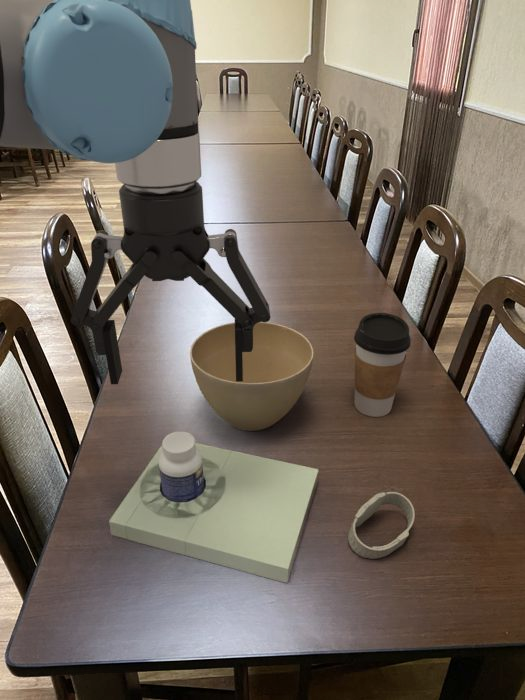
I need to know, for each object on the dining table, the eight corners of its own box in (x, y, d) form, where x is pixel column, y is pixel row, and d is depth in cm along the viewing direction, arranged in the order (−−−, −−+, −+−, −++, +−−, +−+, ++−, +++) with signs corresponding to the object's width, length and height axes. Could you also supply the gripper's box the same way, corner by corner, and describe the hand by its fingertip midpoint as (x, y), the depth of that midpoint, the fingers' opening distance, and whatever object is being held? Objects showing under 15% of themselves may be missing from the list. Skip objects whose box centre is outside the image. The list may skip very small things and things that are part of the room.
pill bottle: (207, 511, 68) (203, 453, 63) (164, 517, 67) (157, 459, 62) (202, 481, 73) (198, 424, 68) (162, 486, 72) (155, 430, 67)
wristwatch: (383, 502, 70) (388, 473, 67) (424, 532, 66) (431, 503, 63) (335, 539, 65) (338, 510, 62) (376, 574, 60) (382, 544, 58)
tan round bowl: (312, 454, 77) (317, 385, 71) (187, 451, 78) (181, 382, 71) (306, 382, 93) (310, 320, 86) (202, 381, 93) (198, 319, 87)
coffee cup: (398, 393, 90) (411, 314, 82) (400, 425, 83) (415, 341, 75) (347, 388, 91) (356, 309, 84) (345, 418, 84) (354, 336, 77)
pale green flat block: (111, 535, 65) (108, 521, 64) (168, 449, 78) (167, 436, 77) (287, 583, 59) (288, 569, 58) (317, 482, 73) (318, 469, 71)
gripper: (293, 172, 53) (286, 355, 64) (34, 173, 51) (73, 360, 63) (301, 192, 46) (293, 393, 57) (5, 195, 45) (55, 398, 56)
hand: (178, 376), depth 60 cm, fingers open, 13 cm apart
